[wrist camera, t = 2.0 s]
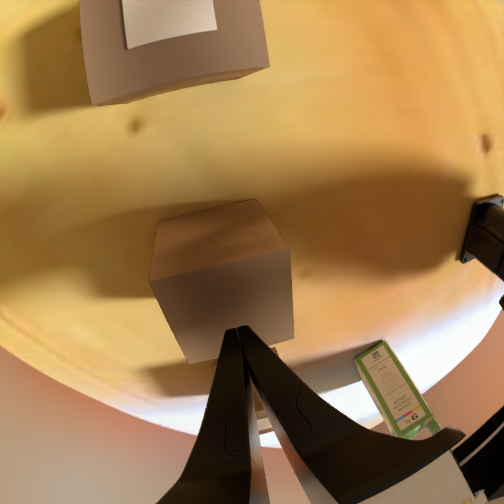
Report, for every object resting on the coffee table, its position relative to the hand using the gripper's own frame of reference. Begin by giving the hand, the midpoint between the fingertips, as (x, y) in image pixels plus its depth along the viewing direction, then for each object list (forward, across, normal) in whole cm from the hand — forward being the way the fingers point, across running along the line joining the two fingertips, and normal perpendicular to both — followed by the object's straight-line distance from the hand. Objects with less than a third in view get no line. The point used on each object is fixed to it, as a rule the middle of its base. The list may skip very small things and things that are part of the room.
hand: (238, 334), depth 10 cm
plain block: (+6, 0, 0) cm, 6 cm away
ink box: (+6, -13, +18) cm, 23 cm away
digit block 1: (+6, 0, -11) cm, 13 cm away
